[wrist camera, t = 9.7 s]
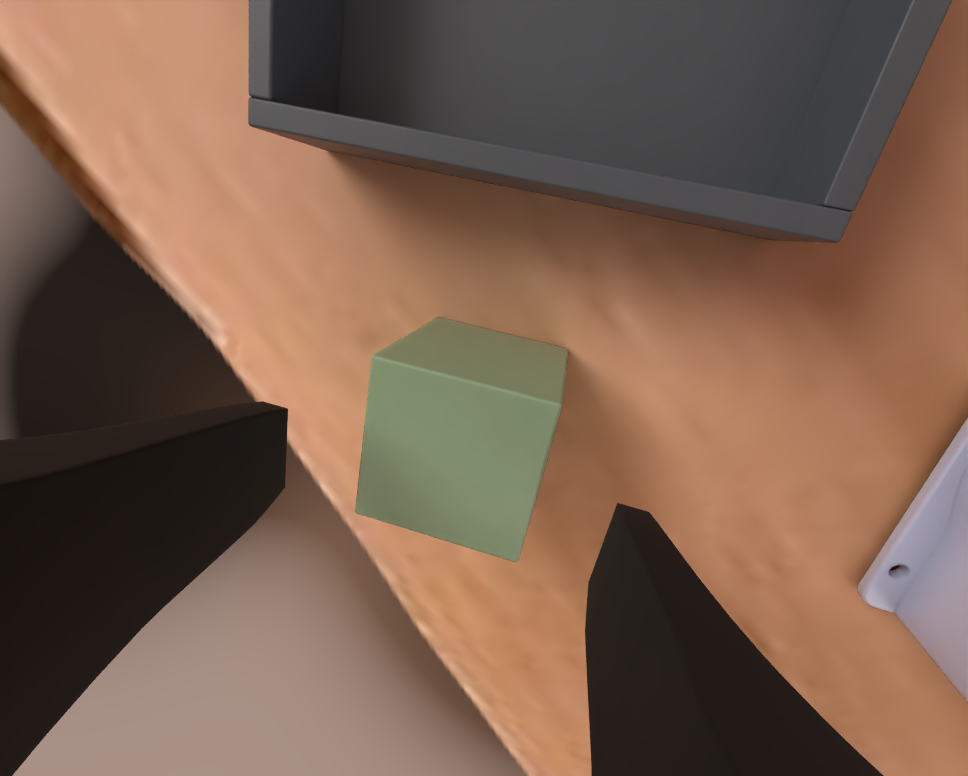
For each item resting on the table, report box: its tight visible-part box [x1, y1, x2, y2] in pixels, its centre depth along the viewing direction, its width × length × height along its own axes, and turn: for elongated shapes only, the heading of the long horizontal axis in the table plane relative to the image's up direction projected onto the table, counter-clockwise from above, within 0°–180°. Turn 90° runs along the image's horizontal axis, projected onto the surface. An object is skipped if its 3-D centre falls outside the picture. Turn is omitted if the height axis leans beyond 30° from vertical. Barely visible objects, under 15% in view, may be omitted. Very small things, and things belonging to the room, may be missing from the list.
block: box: [355, 317, 569, 562], centre depth 13 cm, size 4×4×5 cm
